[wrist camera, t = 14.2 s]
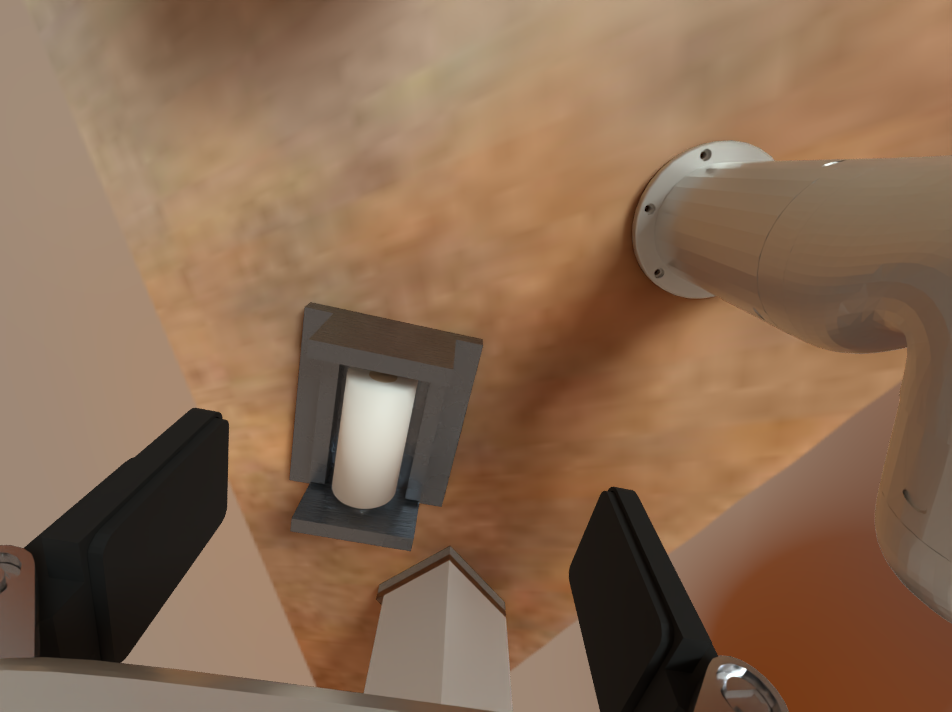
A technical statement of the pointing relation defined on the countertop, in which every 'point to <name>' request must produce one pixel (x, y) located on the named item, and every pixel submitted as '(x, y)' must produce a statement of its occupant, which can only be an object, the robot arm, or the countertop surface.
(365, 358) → the roll holder
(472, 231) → the countertop surface
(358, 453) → the kitchen roll
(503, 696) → the white stand
